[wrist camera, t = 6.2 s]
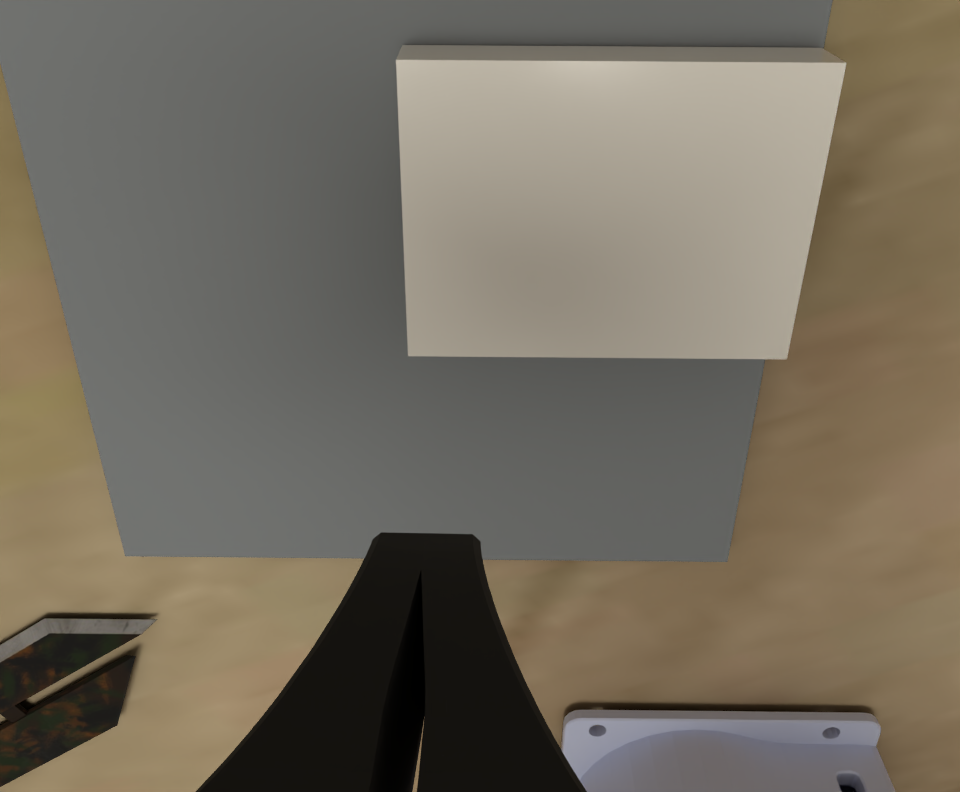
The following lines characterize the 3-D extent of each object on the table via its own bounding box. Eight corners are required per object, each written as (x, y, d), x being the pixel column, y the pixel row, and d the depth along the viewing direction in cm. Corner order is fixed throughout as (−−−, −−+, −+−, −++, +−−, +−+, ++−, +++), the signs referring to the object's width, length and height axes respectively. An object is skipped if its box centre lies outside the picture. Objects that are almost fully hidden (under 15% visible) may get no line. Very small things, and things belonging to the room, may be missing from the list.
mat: (850, -136, 16) (858, -135, 16) (723, 552, 25) (727, 561, 24) (-41, -140, 17) (-51, -139, 16) (130, 546, 25) (125, 556, 24)
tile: (403, 42, 18) (818, 45, 18) (413, 322, 21) (767, 325, 21) (396, 59, 16) (846, 62, 16) (408, 356, 19) (787, 359, 19)
